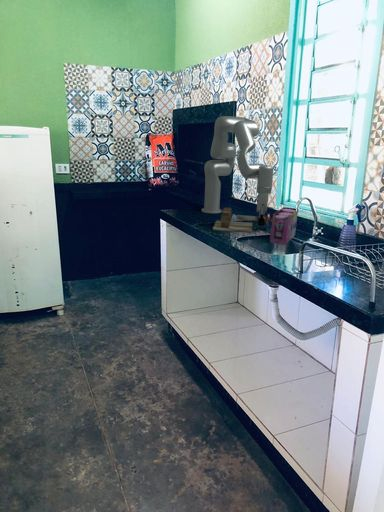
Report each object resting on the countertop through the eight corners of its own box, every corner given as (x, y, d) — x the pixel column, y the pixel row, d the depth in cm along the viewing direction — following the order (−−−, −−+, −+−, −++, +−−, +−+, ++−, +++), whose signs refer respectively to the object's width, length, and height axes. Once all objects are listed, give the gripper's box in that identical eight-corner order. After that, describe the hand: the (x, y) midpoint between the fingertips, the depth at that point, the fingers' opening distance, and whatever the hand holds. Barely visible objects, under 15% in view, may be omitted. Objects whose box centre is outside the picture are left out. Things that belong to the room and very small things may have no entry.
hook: (236, 221, 221) (237, 210, 219) (272, 224, 218) (273, 212, 216) (235, 224, 215) (236, 212, 213) (272, 227, 212) (273, 215, 210)
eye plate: (216, 222, 228) (217, 206, 226) (252, 224, 226) (253, 208, 223) (212, 229, 211) (213, 212, 209) (251, 232, 209) (253, 215, 206)
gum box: (285, 246, 188) (288, 217, 184) (268, 243, 191) (271, 215, 187) (295, 234, 209) (298, 208, 205) (280, 232, 212) (283, 206, 208)
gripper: (256, 187, 218) (253, 220, 224) (256, 191, 203) (253, 227, 209) (271, 188, 217) (267, 221, 223) (271, 192, 202) (268, 228, 207)
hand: (260, 224), depth 216 cm, fingers closed on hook, 2 cm apart
